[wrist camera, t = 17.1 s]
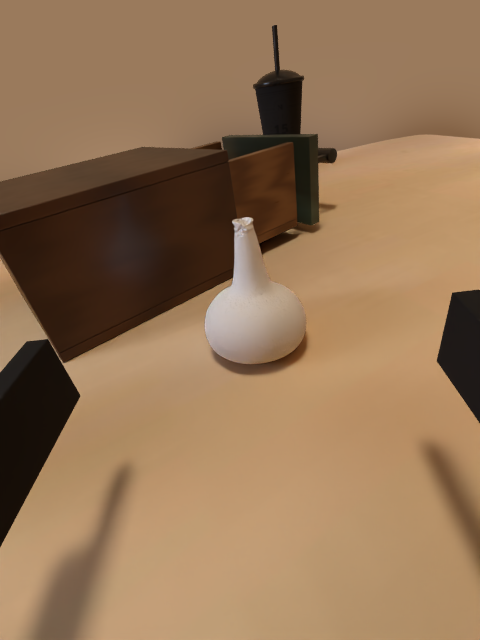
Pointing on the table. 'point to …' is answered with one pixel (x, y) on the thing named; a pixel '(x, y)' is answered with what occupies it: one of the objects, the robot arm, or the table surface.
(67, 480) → the table surface
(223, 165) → the cabinet
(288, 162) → the drawer
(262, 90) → the drinking cup
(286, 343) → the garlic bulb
